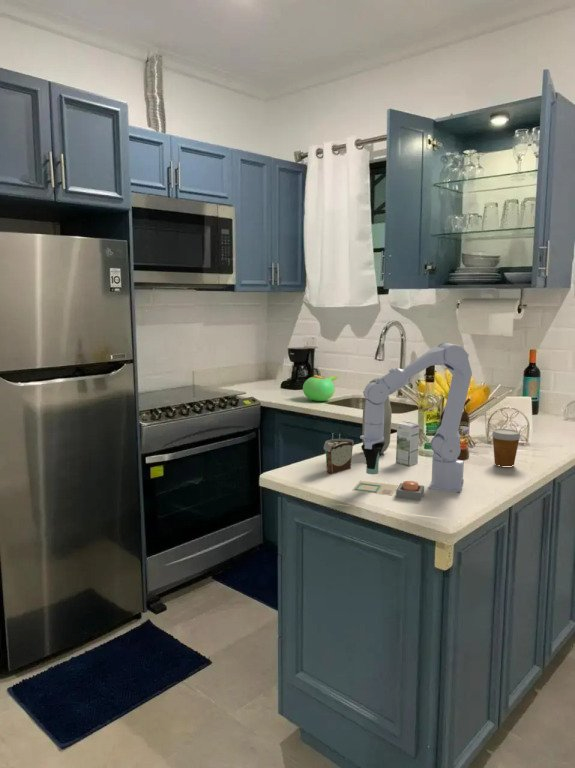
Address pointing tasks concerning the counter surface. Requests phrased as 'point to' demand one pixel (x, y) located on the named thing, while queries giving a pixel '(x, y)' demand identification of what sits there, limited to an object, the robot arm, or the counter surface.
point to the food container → (338, 455)
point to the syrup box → (407, 443)
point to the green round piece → (319, 388)
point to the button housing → (410, 493)
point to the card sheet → (375, 488)
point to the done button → (410, 486)
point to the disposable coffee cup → (505, 446)
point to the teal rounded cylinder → (375, 471)
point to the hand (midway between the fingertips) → (372, 466)
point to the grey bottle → (386, 422)
